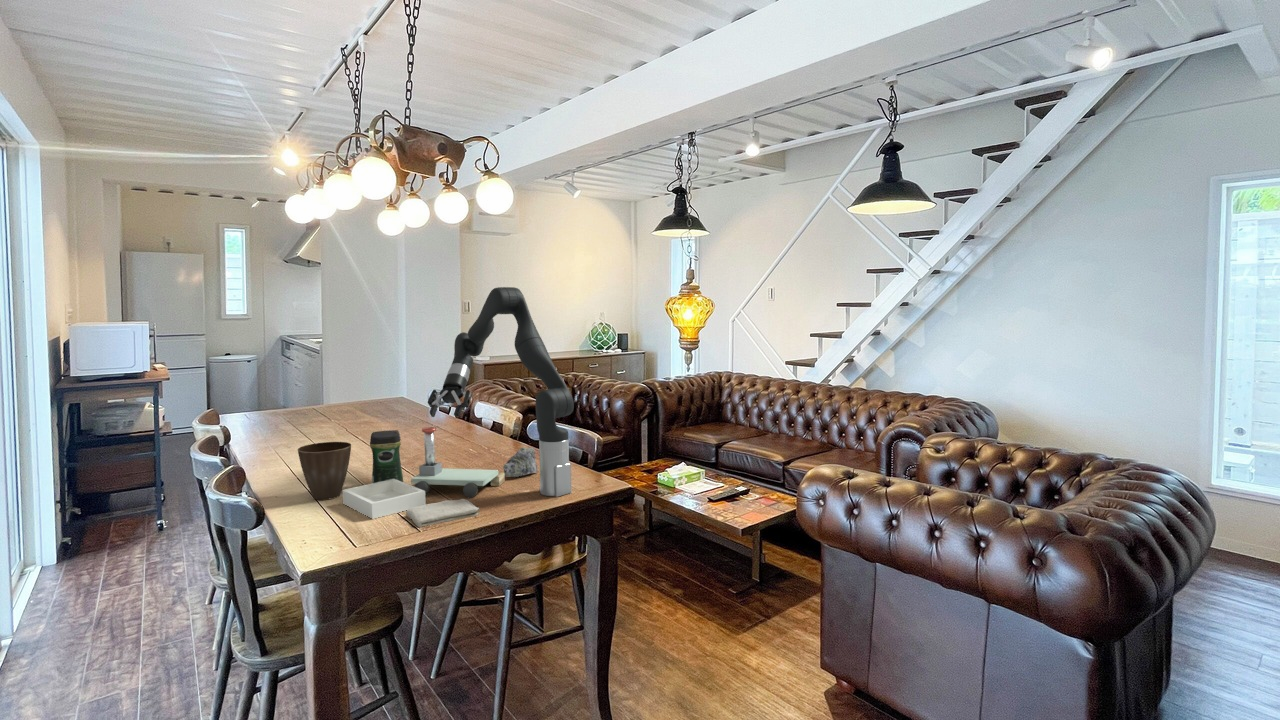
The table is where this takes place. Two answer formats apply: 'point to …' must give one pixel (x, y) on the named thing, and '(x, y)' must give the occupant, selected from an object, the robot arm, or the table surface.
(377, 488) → the tray
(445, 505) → the washcloth
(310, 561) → the table surface
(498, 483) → the block
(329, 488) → the plant pot
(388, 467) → the coffee jar
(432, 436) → the pin
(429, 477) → the trolley
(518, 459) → the mineral rock
